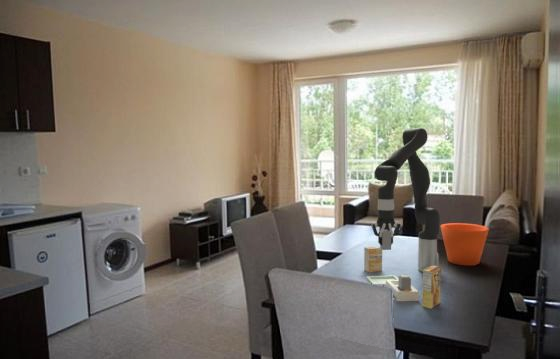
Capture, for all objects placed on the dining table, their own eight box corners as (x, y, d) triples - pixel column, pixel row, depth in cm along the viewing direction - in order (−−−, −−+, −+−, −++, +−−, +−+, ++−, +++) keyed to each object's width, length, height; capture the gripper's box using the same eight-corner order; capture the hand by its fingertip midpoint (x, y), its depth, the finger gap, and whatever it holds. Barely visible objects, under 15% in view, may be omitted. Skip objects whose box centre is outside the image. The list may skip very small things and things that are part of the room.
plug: (388, 247, 195) (388, 229, 195) (391, 249, 191) (391, 231, 191) (380, 247, 195) (380, 230, 195) (382, 249, 191) (382, 231, 191)
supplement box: (368, 274, 211) (368, 249, 210) (363, 271, 216) (363, 247, 215) (382, 272, 213) (382, 247, 212) (378, 270, 218) (378, 245, 217)
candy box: (430, 300, 173) (431, 265, 172) (440, 303, 170) (441, 266, 169) (421, 306, 167) (422, 269, 166) (432, 309, 164) (432, 271, 163)
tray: (394, 279, 202) (394, 275, 202) (403, 287, 190) (403, 283, 190) (366, 280, 201) (366, 276, 201) (373, 288, 189) (373, 284, 189)
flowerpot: (437, 264, 227) (437, 229, 226) (442, 254, 249) (442, 221, 248) (487, 270, 215) (488, 232, 214) (488, 258, 237) (489, 224, 236)
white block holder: (385, 288, 189) (385, 268, 188) (404, 288, 189) (405, 267, 188) (397, 301, 173) (397, 279, 172) (418, 300, 173) (418, 278, 172)
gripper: (398, 207, 196) (397, 242, 197) (368, 207, 195) (368, 243, 197) (403, 209, 188) (403, 246, 190) (372, 209, 188) (372, 246, 189)
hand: (385, 244), depth 193 cm, fingers closed on plug, 4 cm apart
